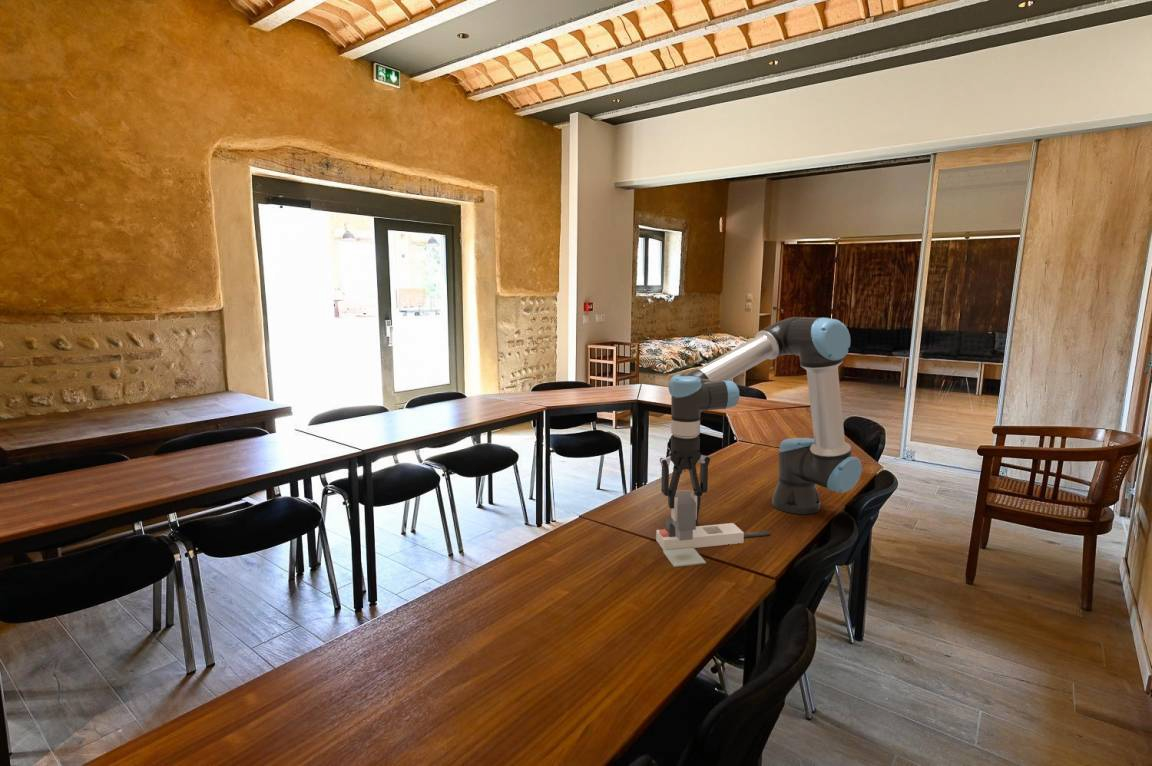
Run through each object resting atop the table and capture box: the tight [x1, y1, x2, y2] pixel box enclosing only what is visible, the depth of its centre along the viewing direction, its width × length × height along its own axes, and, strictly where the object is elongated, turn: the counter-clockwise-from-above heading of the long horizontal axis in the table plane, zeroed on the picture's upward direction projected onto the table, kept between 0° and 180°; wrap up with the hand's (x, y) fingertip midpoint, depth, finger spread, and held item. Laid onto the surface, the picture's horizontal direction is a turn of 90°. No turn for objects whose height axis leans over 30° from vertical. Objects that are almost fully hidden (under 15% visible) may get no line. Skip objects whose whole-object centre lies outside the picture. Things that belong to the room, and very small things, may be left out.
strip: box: [655, 517, 771, 551], centre depth 165 cm, size 34×7×7 cm, turn 100°
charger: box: [673, 497, 696, 541], centre depth 153 cm, size 5×5×10 cm
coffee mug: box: [675, 489, 702, 526], centre depth 177 cm, size 12×9×10 cm
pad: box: [662, 548, 707, 568], centre depth 155 cm, size 9×9×1 cm
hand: (684, 518), depth 153 cm, fingers closed on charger, 5 cm apart
